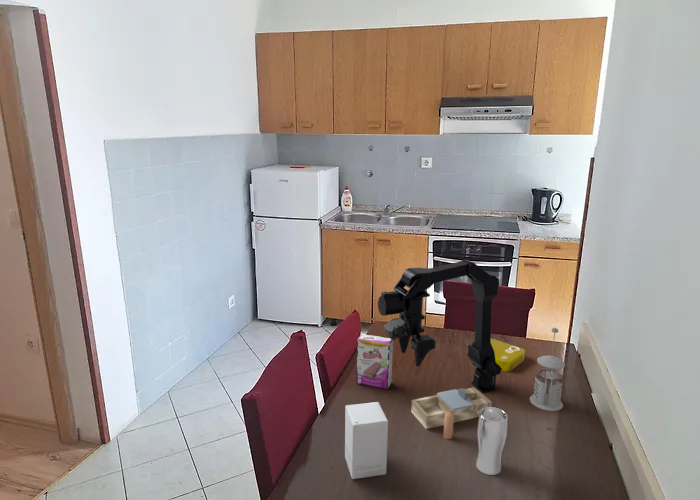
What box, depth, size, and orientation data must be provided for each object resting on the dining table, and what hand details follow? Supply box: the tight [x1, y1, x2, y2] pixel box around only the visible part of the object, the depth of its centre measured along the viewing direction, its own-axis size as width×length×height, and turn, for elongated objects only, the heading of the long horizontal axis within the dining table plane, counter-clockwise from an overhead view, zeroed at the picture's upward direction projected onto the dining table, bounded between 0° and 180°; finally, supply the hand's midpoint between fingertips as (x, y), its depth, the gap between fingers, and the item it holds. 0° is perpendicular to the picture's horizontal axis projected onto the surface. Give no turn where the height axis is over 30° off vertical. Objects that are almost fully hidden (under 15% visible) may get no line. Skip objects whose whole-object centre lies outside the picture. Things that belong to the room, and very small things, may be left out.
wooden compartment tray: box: [410, 386, 493, 430], centre depth 141 cm, size 22×9×4 cm, turn 111°
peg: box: [442, 412, 454, 440], centre depth 130 cm, size 2×2×7 cm
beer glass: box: [475, 406, 509, 476], centre depth 117 cm, size 7×7×15 cm
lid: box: [436, 387, 473, 411], centre depth 141 cm, size 7×9×3 cm
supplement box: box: [344, 401, 389, 480], centre depth 117 cm, size 9×9×15 cm
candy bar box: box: [355, 333, 394, 390], centre depth 156 cm, size 11×5×16 cm, turn 71°
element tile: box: [491, 338, 526, 373], centre depth 176 cm, size 15×15×5 cm
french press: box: [529, 327, 566, 412], centre depth 144 cm, size 10×12×25 cm
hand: (410, 359), depth 143 cm, fingers open, 9 cm apart
